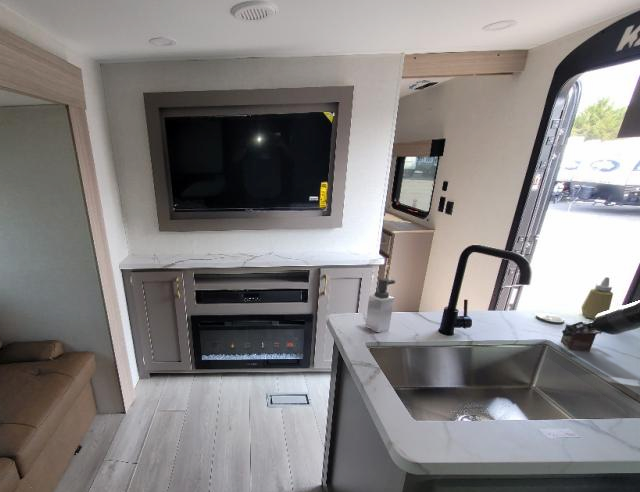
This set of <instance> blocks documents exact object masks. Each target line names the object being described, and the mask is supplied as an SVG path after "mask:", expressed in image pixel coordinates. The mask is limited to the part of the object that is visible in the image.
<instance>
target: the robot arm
mask: <svg viewBox="0 0 640 492" xmlns="http://www.w3.org/2000/svg"><path fill="white" fill-rule="evenodd" d="M565 327H566V326H565ZM566 328H567V329H565V328H564V329H563V330H561V333H562V336H563V335H564V336H570V335H573V334H577V333H583V334H586V333H592V332H594V333H596V335H602V334H607V335H618V334H622V333H625V332H629V331H633V330H637V329H640V300H638V301H635V302H632V303H629V304H625V305H620V306H616V307H614V308H611V309H609V310H608V311H605V312H602V313H599V314H598V315H596V317H595V319H591V320H588V321H586V322H583V321H578V322H576V323H573V324H570V325H569V326H567V327H566ZM584 329H586V330H587V331H584Z"/></svg>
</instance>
